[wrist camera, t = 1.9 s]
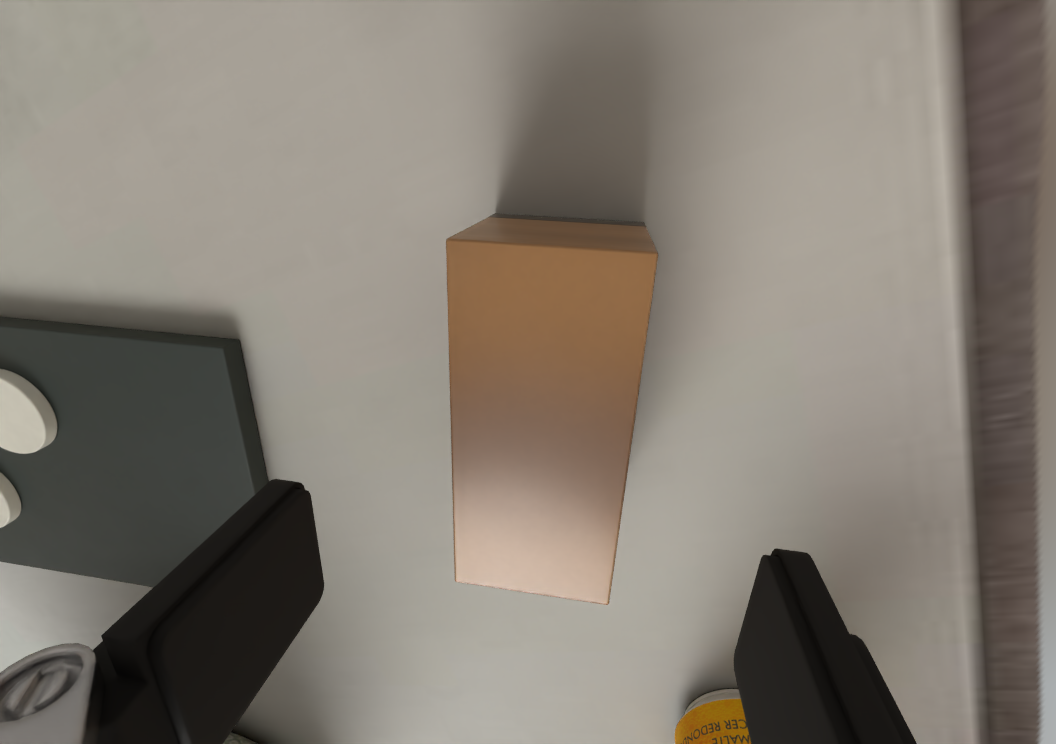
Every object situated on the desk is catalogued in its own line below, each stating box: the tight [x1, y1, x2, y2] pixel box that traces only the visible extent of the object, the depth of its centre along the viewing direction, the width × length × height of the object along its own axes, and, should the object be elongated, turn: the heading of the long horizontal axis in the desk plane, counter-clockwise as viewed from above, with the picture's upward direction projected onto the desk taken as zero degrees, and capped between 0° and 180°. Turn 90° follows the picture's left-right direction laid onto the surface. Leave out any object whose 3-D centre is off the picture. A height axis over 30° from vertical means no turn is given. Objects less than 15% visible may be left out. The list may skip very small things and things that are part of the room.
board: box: [0, 317, 268, 587], centre depth 24 cm, size 14×24×1 cm, turn 88°
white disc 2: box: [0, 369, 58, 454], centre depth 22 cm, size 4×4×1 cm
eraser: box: [446, 214, 658, 605], centre depth 16 cm, size 11×5×6 cm, turn 178°
